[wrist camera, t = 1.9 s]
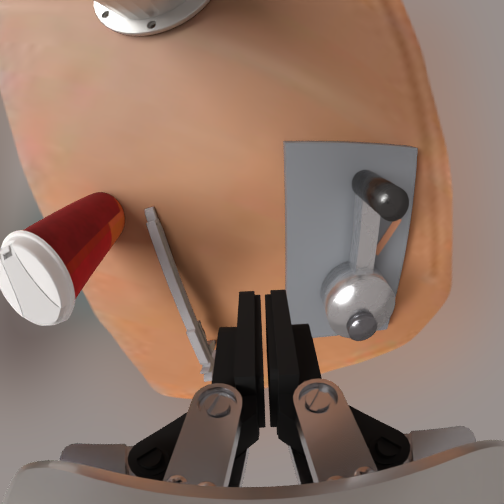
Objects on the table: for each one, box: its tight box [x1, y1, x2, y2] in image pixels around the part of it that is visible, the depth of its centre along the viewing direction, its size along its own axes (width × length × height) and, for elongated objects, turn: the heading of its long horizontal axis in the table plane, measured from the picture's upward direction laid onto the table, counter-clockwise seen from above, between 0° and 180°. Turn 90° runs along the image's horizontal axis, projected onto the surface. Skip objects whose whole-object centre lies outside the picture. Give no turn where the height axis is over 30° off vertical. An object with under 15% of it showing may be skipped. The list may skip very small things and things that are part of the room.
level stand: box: [283, 141, 417, 338], centre depth 29 cm, size 22×13×2 cm, turn 3°
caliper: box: [145, 207, 216, 382], centre depth 30 cm, size 20×1×6 cm, turn 16°
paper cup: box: [0, 192, 125, 326], centre depth 22 cm, size 8×8×14 cm
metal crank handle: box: [320, 170, 409, 341], centre depth 25 cm, size 16×7×7 cm, turn 3°
